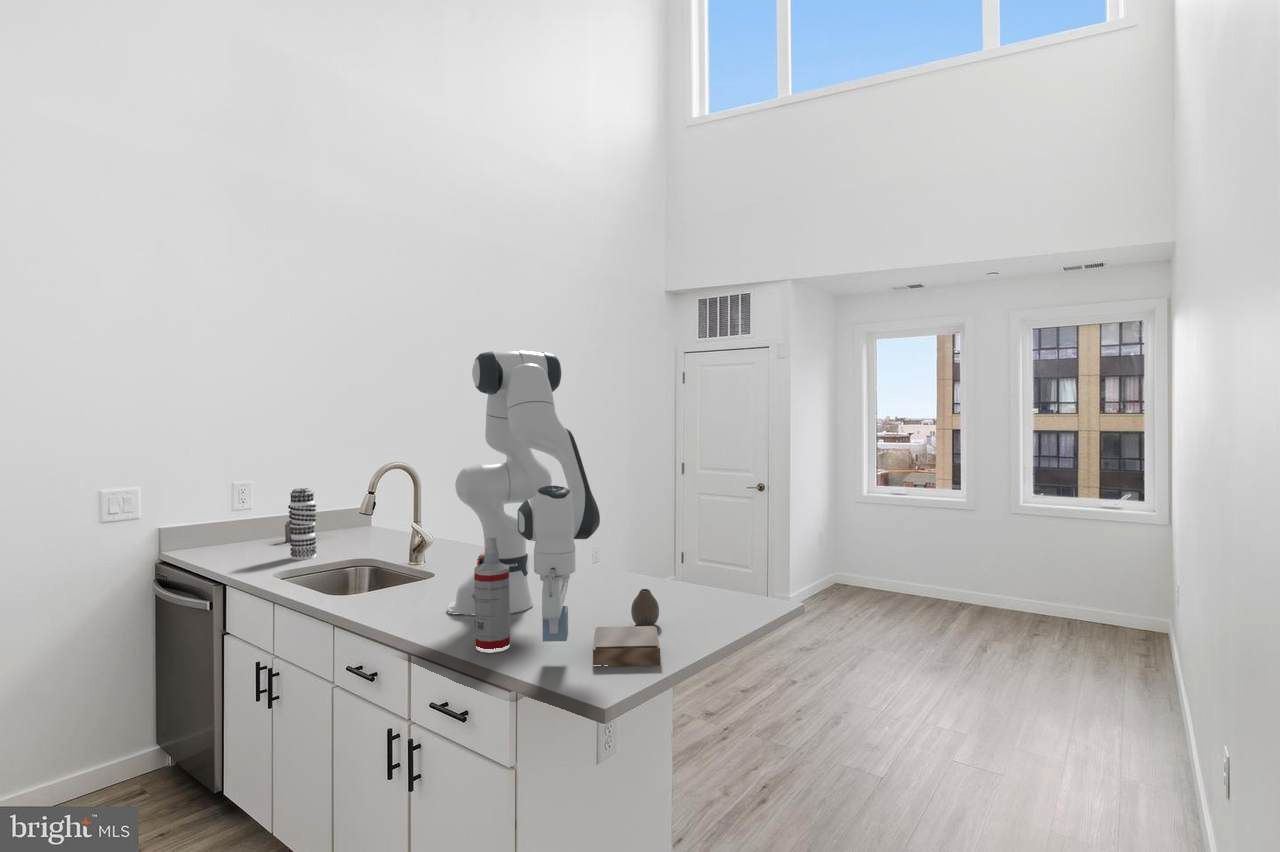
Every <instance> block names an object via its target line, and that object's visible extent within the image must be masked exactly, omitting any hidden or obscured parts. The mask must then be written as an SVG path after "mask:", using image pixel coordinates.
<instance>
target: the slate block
mask: <svg viewBox="0 0 1280 852" xmlns="http://www.w3.org/2000/svg"><path fill="white" fill-rule="evenodd" d="M541 616H542V615H541ZM541 621H542V642H543V643H545V642H567V641H568V635H569V605H563V608H562V612H561V616H560V618H559V621H558V623H559V630H558V633H552V634H551V633H550V627H549V620H546V619H543V616H542V620H541Z"/></svg>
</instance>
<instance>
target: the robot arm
mask: <svg viewBox="0 0 1280 852" xmlns="http://www.w3.org/2000/svg"><path fill="white" fill-rule="evenodd" d="M471 376H472V380H473V383H474V386H475V388H476V389H477V391H479V392H480V393H482V394H487V400H486V412H485V432H484V433H485V437H484V439H485V441H486V443H487V445H488V446H489V447H490V448H491V449H493V450H494V451H495V452H498V453H500V454H503V455H505V456H506V460H505V461H506V462H502V463H501V462H500V463H481V464H475V465H471V466H467V467H464V468H462V469H461V470H460V472H459V473H458V475H457V476H456V479H455V484H454V485H455V492H456V495H457V497H458V499H459V500H460V501H461V502H462V503H463V504H465V505H466V506H468V507H469V508H470V509H471V510H472V511H473V512H474V513H475V514H476V516H477V517H478V519H479V521H480V523H481V527H482V530H483V531H482V532H483V542H484V544H483V545H484V550H485V549H486V538H492V537H497V549H498V551H499V561H500V563H503V564H505V565H509V592H510V613H511V614H516V613H520V612H523V611H526V610H529V609H531V608H532V607H533V606H534V604H533V600H532V597H531V591H530V586H529V580H528V574H529V554H528V553H527V540H528V541H532V542H535V543H534V547H533V572H534V573H535V574H536V575H539V580H540V581H541V582H542V588H541V616H543V619H546V620H549V627H550V633H551V634H552V633H558V630H559V623H558V621H559V618H560V616H561V612H562V608H563V606H564V604H565V600H566V597H567V596H566V595H567V593H568V592H567V591H568V586H569V585H568V584H569V580H570V578H571V574H574V573H575V572H576V570H577V568H576V567H577V566H576V561H577V559H576V558H577V557H576V545H575V541H574V540H587V539H590V537H592V535H593V534H595V532H596V531H597V530H598V528H599V527H600V522H601V516H600V510H599V507H598V504H597V502H596V499H595V497H594V495H593V492H592V490H591V487H590V483H589V481H588V477H587V473H586V471H585V468H584V464H583V461H582V458H581V457H582V456H581V455H580V451H579V447H578V444H577V442H576V440H575V437H574V436H573V432H572V431H571V430H570V429H568V428H566V427H565V426H564V425H563V424H562V423H561V421H560V419H559V418H558V416H557V413H556V412H557V411H556V408H555V407H556V406H555V400H554V395H553V394H554V393H553V392H555V391H556V390H557V389H558V387H559V386H560V384H561V379H562V367H561V362H560V359H559V358H558V357H557V356H556V355H555V354H552V353H549V352H545V351H544V352H543V351H542V352H537V351H527V350H517V351H515V350H514V351H513V350H512V351H497V352H494V351H486V352H481V353H479V354H478V355H477V356H476V358H475V359H474V363H473V365H472V369H471ZM532 450H536V451H538V452H542V453H545V454H547V455H549V456H551V457H553V458H554V459H556V460H557V461H558V462H559V463H560V465H561V467H562V470H563V471H562V472H563V473H564V478H565V480H566V484H567V487H568V488H567V487H564V486H559V485H552V481H553V479H552V476H551V473H550V470H549V468H547V466H545V465H544V464H543V463H542V462H541V461H539V460H538V459H537V457H535V455H534V454H533V451H532ZM521 503H522V504H521ZM506 504H507V505H508V504H520V506H519V507H518V509H517V518H516V517H514V516H512V515H510V514H507V513H505V508H504V505H506ZM483 563H484V553H480V554H479V555H478V557H477V559H476V565H477V566H479V565H481V564H483ZM455 596H456V597H455V599H454V600H452V601H451V602H450V603H449V604H448V605H447V610H448V611H449V612H450V613H459V614H475V586H474V572H472V573H471V574H470V575H469V576H468V577H467V578H465V580H463V581H462V582H461V583H460V584H459V586H458V589H457V591H456V595H455ZM515 612H516V613H515Z"/></svg>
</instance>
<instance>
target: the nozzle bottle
mask: <svg viewBox="0 0 1280 852" xmlns="http://www.w3.org/2000/svg"><path fill="white" fill-rule="evenodd" d="M483 554H484V563H483V564H481V565H479V566H475V567H474V571H473V573H474V586H475V616H474V630H475V631H474V637H475V638H474V639H475V640H474V641H475V644H474V646H477V647H480V648H483V649H494V648H495V649H496V648H503V647H505V646H508V645H509V644H510V645H511V614H510V592H509V565H505V564H503V563H500V561H499V551H498V549H497V537H492V538H486V549H485V548H484V553H483Z"/></svg>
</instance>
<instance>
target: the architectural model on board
mask: <svg viewBox="0 0 1280 852" xmlns="http://www.w3.org/2000/svg"><path fill="white" fill-rule="evenodd" d="M289 521H291V519H290V520H288V521H286V522H285V524H284V533H285V535H284V536H285V538H284V539H285V543H288V544H291V541H290V539H292V538H291V533H292V531H291V529H292V528H291V527H290V525H291V524H290V522H289ZM315 529H316V528H315V525H314V532H315V531H316V530H315ZM315 533H316V532H315Z"/></svg>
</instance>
